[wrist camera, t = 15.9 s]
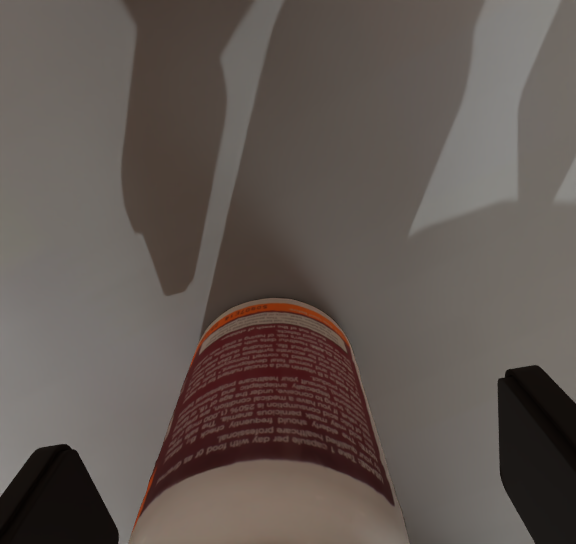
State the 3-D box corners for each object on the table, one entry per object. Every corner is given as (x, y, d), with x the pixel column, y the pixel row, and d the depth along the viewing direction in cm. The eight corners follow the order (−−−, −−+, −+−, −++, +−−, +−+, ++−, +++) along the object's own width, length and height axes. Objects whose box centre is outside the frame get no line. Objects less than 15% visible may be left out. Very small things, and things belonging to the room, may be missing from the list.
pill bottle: (165, 330, 12) (-57, 754, 4) (318, 267, 11) (398, 630, 3) (238, 446, 14) (179, 905, 6) (375, 397, 13) (518, 841, 5)
